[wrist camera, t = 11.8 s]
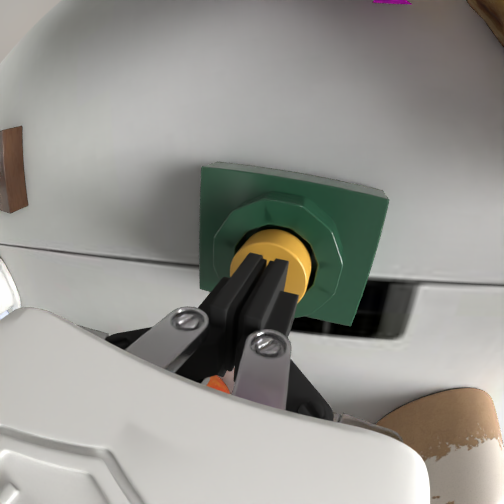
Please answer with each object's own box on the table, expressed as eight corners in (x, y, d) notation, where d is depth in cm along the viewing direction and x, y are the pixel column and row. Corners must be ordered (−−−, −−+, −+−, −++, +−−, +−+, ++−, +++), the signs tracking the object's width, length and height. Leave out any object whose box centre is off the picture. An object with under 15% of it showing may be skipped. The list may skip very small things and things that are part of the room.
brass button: (239, 284, 15) (227, 301, 14) (244, 222, 14) (231, 234, 12) (304, 299, 14) (299, 320, 13) (317, 236, 13) (314, 252, 11)
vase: (394, 464, 25) (378, 566, 11) (343, 423, 23) (309, 570, 9) (496, 422, 18) (505, 533, 3) (484, 362, 16) (511, 535, 1)
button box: (212, 273, 20) (186, 304, 17) (217, 161, 16) (183, 171, 13) (351, 306, 18) (350, 346, 14) (383, 190, 14) (396, 209, 11)
